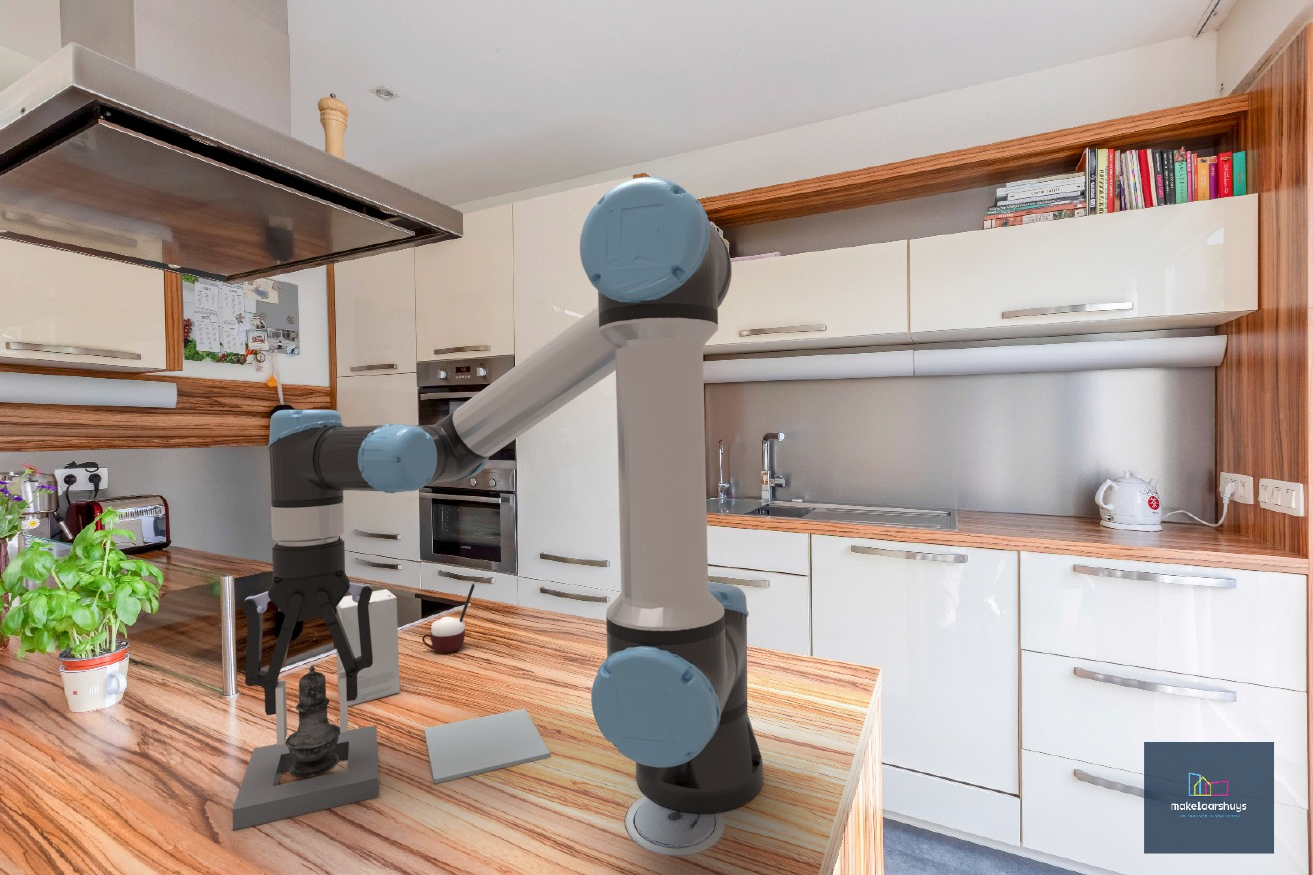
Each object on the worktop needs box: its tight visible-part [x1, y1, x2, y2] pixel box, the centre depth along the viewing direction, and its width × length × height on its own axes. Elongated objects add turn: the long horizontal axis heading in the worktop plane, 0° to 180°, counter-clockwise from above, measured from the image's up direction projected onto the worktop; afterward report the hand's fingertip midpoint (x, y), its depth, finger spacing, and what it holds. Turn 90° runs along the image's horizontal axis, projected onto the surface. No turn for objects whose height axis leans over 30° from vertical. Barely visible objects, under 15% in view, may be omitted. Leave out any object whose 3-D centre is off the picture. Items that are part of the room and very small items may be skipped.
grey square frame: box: [231, 724, 380, 831], centre depth 76 cm, size 14×14×2 cm
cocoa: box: [421, 583, 475, 654], centre depth 119 cm, size 10×6×12 cm, turn 85°
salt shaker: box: [285, 665, 341, 779], centre depth 75 cm, size 6×6×12 cm
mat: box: [423, 708, 551, 785], centre depth 84 cm, size 14×14×1 cm
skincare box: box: [336, 588, 401, 707], centre depth 100 cm, size 8×7×16 cm
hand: (313, 732), depth 75 cm, fingers closed on salt shaker, 6 cm apart
